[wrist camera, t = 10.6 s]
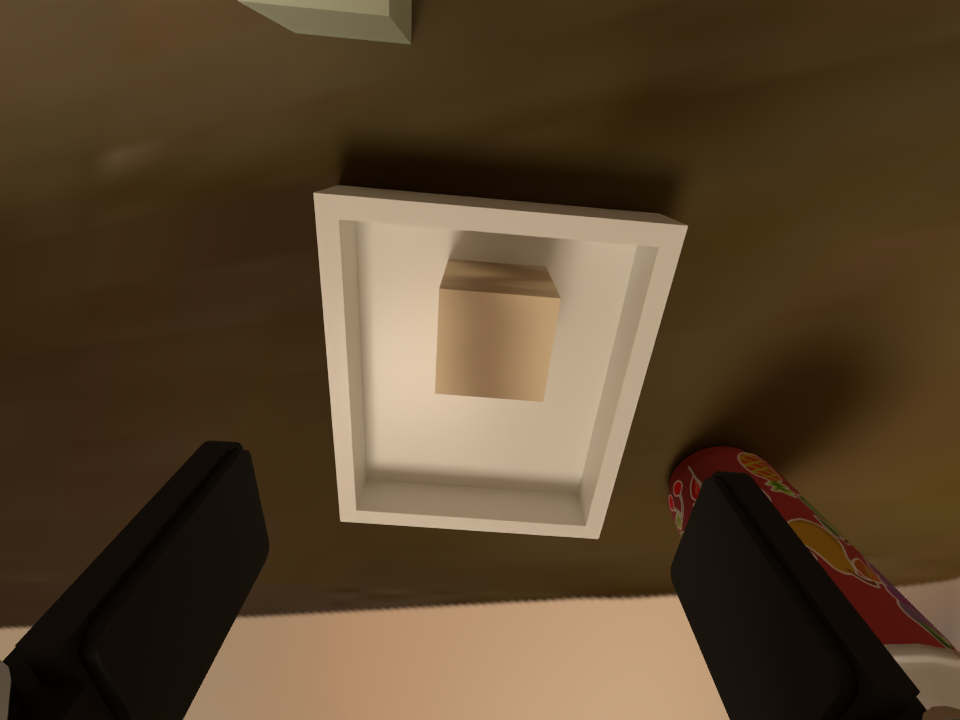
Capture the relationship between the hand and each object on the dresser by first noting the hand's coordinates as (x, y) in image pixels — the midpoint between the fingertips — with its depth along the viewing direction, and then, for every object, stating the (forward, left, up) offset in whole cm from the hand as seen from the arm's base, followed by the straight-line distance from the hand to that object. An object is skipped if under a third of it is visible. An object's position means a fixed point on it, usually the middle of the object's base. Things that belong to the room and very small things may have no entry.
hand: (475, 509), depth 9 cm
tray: (-1, +5, -16) cm, 17 cm away
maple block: (-1, +1, -15) cm, 15 cm away
